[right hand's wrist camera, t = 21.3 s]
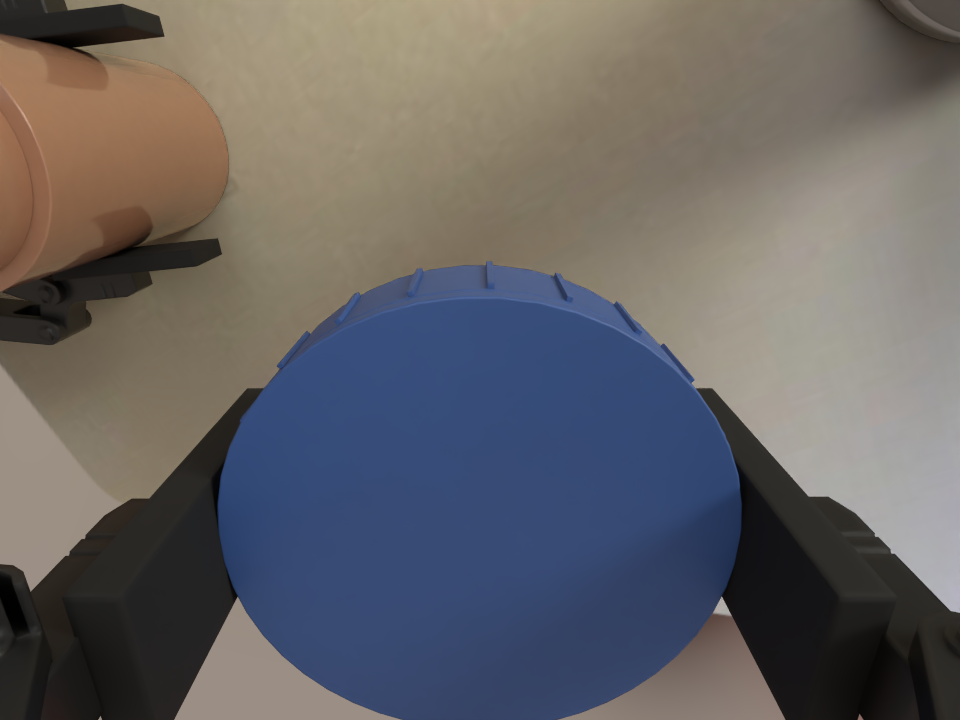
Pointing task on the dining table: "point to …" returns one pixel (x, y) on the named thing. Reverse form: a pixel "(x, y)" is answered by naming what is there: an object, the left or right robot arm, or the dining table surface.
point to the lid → (479, 500)
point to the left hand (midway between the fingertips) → (177, 144)
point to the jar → (97, 157)
